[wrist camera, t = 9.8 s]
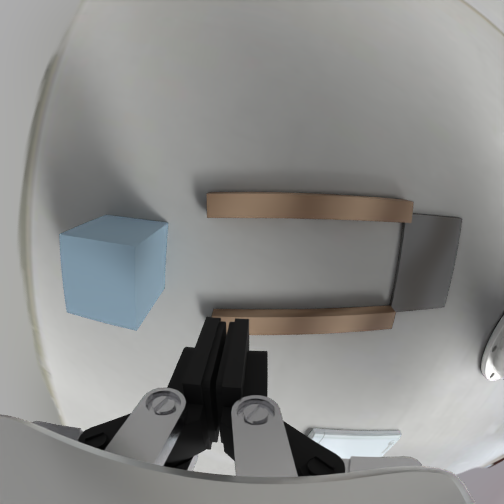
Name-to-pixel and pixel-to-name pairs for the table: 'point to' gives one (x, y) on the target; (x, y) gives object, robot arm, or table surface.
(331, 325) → the guide channel
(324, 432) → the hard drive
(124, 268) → the block
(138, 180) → the table surface
